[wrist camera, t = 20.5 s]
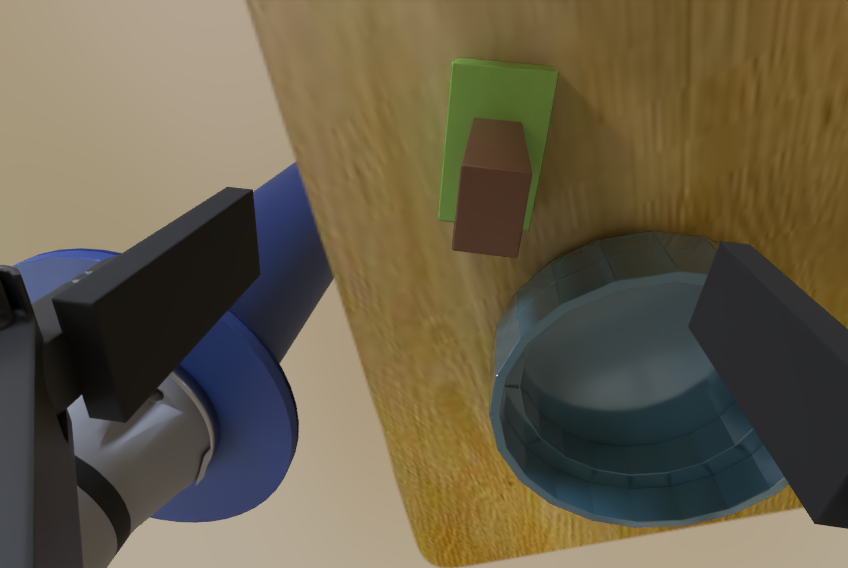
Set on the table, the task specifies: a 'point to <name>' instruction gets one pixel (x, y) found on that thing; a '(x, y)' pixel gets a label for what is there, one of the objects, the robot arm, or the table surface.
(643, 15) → the table surface
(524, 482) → the bowl
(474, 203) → the sponge brush
